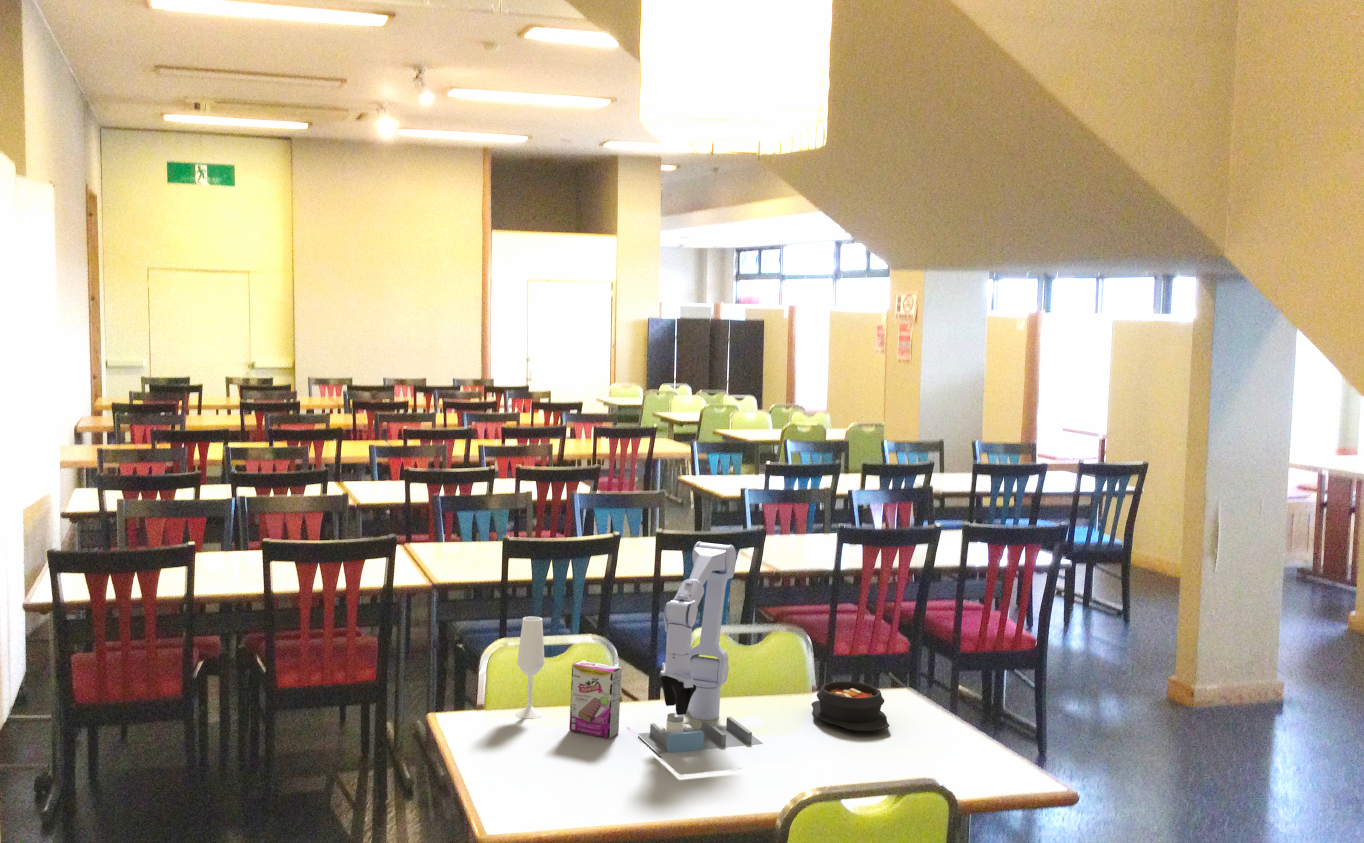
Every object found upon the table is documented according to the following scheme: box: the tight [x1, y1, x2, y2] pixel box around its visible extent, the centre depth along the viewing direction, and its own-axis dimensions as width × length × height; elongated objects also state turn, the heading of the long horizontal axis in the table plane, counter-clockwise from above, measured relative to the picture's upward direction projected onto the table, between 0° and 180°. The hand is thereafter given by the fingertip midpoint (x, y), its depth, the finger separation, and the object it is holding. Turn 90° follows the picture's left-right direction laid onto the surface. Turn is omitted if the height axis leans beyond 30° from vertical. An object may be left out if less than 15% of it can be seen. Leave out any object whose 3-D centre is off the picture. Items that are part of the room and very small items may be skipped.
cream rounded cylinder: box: [665, 712, 685, 734], centre depth 280 cm, size 4×4×6 cm
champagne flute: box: [515, 616, 546, 720], centre depth 297 cm, size 7×7×24 cm
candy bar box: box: [569, 659, 622, 740], centre depth 286 cm, size 11×5×16 cm, turn 65°
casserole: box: [811, 681, 890, 732], centre depth 304 cm, size 25×19×8 cm
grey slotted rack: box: [637, 716, 764, 759], centre depth 283 cm, size 14×26×5 cm, turn 112°
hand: (675, 709), depth 280 cm, fingers open, 6 cm apart
